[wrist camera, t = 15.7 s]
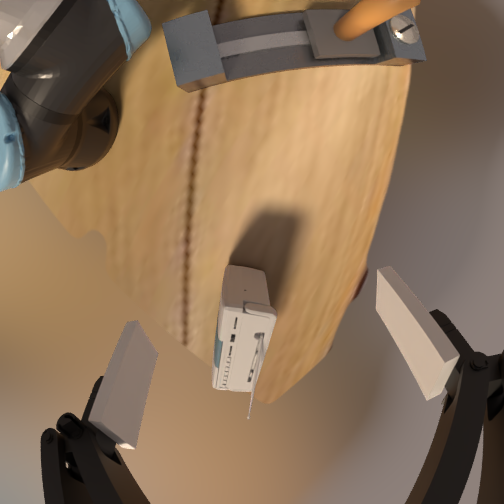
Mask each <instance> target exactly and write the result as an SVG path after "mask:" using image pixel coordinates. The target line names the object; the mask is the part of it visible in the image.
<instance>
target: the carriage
mask: <svg viewBox="0 0 504 504" xmlns="http://www.w3.org/2000/svg"><path fill="white" fill-rule="evenodd" d="M420 1H421V0H362V1H360V2H359V3H358V4H357V5H356V6H354V7H353V8H352V9H351V10H341V9H311V10H305V11H304V13H303V14H302V17H303V20H304V23H305V26H306V29H307V32H308V36H309V39H310V42H311V46H312V49H313V53H314V57H315V59H322V58H342V57H376V56H379V55H381V54H380V51H379V47H378V43H377V40H376V37H375V34H374V30H373V28H374V27H376V26H378V25H379V24H381V23H383V22H385V21H387V20H389V19H391V18H392V17H394V16H396V15H398V14H400V13H402V12H404V11H406V10H408V9H410V8H412V7H415V6H417V5H419V3H420Z"/></svg>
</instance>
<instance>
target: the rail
mask: <svg viewBox="0 0 504 504" xmlns="http://www.w3.org/2000/svg"><path fill="white" fill-rule="evenodd" d="M303 13H304V12H303ZM303 13H289V14H278V15H269V16H262V17H255V18H249V19H243V20H237V21H232V22H227V23H223V24H218V25H214V26H212V24H211V21H210V17H209V14H208V11H207V10H205V11H201V12H197V13H193V14H190V15H187V16H183V17H180V18H177V19H174V20H171V21H168V22H165V23H162V26H163V31H164V35H165V39H166V43H167V47H168V52H169V56H170V60H171V64H172V68H173V72H174V76H175V80H176V84H177V86H178V87H180V88H181V89H183V90H185V91H187V92H188V93H189V92H193V91H196V90H199V89H203V88H206V87H210V86H214V85H218V84H222V83H226V82H230V81H234V80H239V79H243V78H248V77H253V76H258V75H264V74H269V73H276V72H282V71H289V70H297V69H306V68H316V67H328V66H348V65H386V66H404V65H408V64H413V63H418V62H423V61H427V60H426V56H425V52H424V48H423V45H422V41H421V38H420V35H419V31H418V28H417V25H416V22H415V20H414V17H413V14H412V11H411V9H408V10H406V11H404V12H402V13H400V14H398V15H396V16H394V17H392V18H391V19H389V20H387V21H385V22H383V23H381V24H379V25H378V26H376V27H374V28H373V30H374V34H375V37H376V40H377V43H378V47H379V51H380V54H381V55H379V56H376V57H342V58H322V59H315V57H314V53H313V49H312V46H311V42H310V39H309V36H308V32H307V29H306V26H305V23H304V20H303V17H302V14H303Z"/></svg>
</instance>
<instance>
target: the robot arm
mask: <svg viewBox="0 0 504 504" xmlns="http://www.w3.org/2000/svg"><path fill="white" fill-rule="evenodd" d="M151 29H152V28H151V22H150V20H149V18H148V16H147V15H146V13H145V11H144V10H143V9H142V7H141V6H140V5H139V3H138V2H137V1H136V0H0V62H1V67H2V69H4V70H7V71H10V72H11V73H10V75H9V77H8V78H7V80H6V82H5V83H4V85H3V87H2V89H1V90H0V192H1V191H4V190H7V189H9V188H15V187H17V186H19V184H20V183H23V182H25V181H27V180H30V179H32V178H34V177H36V176H39V175H41V174H44V173H46V172H49V171H51V170H54V169H56V168H59V169H64V170H69V171H78V170H83V169H85V168H88V167H90V166H93V165H95V164H96V163H98V162H99V161H100V160H101V159H103V158H104V156H105V155H106V154H107V153H108V151H109V150H110V148H111V147H112V145H113V142H114V140H115V137H116V134H117V129H118V112H117V107H116V104H115V102H114V100H113V98H112V96H111V95H110V94H109V93H108V92H107V91H106V90H105V89H103V88H102V86H103V85H104V84H105V83H106V82H107V81H108V79H109V78H110V77H111V76H112V75H113V74H114V73H115V72H116V71H117V70H118V68H119V67H120V66H121V65H122V64H123V63H124V62H125V61H129V60H130V59H131V57H132V54H133V53H134V52H135V51H136V50H137V49H138V48H139V47H140V46H141V45H142V44H143V43H144V42H145V41H146V40H147V39H148V37H149V36H150V34H151ZM377 271H378V272H377V297H376V310H377V312H378V314H379V315H380V317H381V319H382V320H383V322H384V323H385V325H386V327H387V329H388V330H389V332H390V334H391V335H392V337H393V339H394V341H395V342H396V344H397V346H398V347H399V349H400V351H401V353H402V354H403V356H404V358H405V360H406V362H407V364H408V365H409V367H410V369H411V371H412V373H413V375H414V377H415V378H416V380H417V382H418V384H419V386H420V388H421V390H422V392H423V394H424V396H425V398H426V400H429V399H431V398H433V397H435V396H437V395H439V394H441V392H442V390H443V389H444V387H445V388H446V390H447V394H446V396H445V398H444V399H443V401H442V403H441V404H444V406H443V410H442V413H441V417H440V420H439V423H438V426H437V430H436V433H435V436H434V439H433V441H432V444H431V447H430V450H429V452H428V455H427V457H426V460H425V463H424V465H423V467H422V469H421V472H420V474H419V476H418V478H417V481H416V483H415V485H414V487H413V489H412V491H411V493H410V495H409V497H408V499H407V501H406V503H405V504H458V503H459V500H460V498H461V495H462V493H463V490H464V488H465V485H466V482H467V480H468V477H469V474H470V471H471V468H472V464H473V462H474V458H475V454H476V451H477V447H478V443H479V439H480V435H481V431H482V426H483V431H484V434H483V460H482V471H481V480H480V487H479V494H478V500H477V504H504V350H503V352H502V354H498V355H493V356H486V355H485V354H483V353H481V352H474V351H473V349H472V348H471V347H470V346H469V344H468V343H467V341H466V340H465V339H464V337H463V336H462V335H461V333H460V332H459V331H458V330H457V329H456V327H455V326H454V324H452V323H451V321H450V319H449V318H448V317H447V316H446V315H445V314H444V313H442V312H441V311H439V310H437V309H436V310H434V311H431V312H428V311H427V310H426V308H425V307H424V306H423V304H422V303H421V302H420V301H419V299H418V298H417V297H416V296H415V295H414V293H413V292H412V291H411V290H410V289H409V287H408V286H407V285H406V284H405V283H404V281H403V280H402V279H401V278H400V277H399V276H398V274H397V273H396V272H395V271H394V270H393V269H392V267H391V266H387V267H384V268H380V269H378V270H377ZM157 356H158V352H157V351H156V350H155V348H154V346H153V344H152V343H151V341H150V340H149V338H148V336H147V335H146V333H145V332H144V330H143V328H142V327H141V325H140V323H139V322H138V320H137V321H131V322H127V323H126V325H125V328H124V330H123V332H122V334H121V337H120V339H119V341H118V343H117V346H116V348H115V350H114V353H113V355H112V358H111V360H110V362H109V365H108V368H107V370H106V373H105V375H104V376H100V378H99V379H98V380H97V381H96V383H95V384H94V387H93V390H92V393H91V395H90V397H89V398H90V399H89V400H88V403H87V405H86V408H85V411H84V414H83V417H82V420H79V419H78V418H77V417H76V416H75V415H74V414H72V413H65V414H63V415H62V416H61V417H60V418H59V419H58V421H57V425H56V429H57V430H58V431H59V432H60V433H58V432H57V431H56V430H55V429H53V428H48V429H46V430H45V431H44V432H43V434H42V436H41V467H42V481H43V489H44V498H45V504H150V502H149V501H148V499H147V498H146V496H145V495H144V493H143V492H142V490H141V489H140V487H139V486H138V484H137V482H136V481H135V479H134V478H133V476H132V474H131V473H130V471H129V469H128V468H127V466H126V464H125V462H124V461H123V459H122V457H121V455H120V453H119V451H118V450H117V449H116V448H115V445H116V443H117V444H118V445H120V446H121V447H123V448H128V449H136V445H137V440H138V435H139V430H140V426H141V421H142V416H143V412H144V408H145V404H146V399H147V395H148V391H149V387H150V383H151V379H152V375H153V371H154V368H155V364H156V360H157ZM66 463H67V464H68V468H67V467H66Z"/></svg>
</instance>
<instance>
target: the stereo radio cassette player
mask: <svg viewBox="0 0 504 504" xmlns="http://www.w3.org/2000/svg"><path fill="white" fill-rule="evenodd" d="M276 319H277V312H276V310H275V309H274V308H273V307H270V300H269V294H268V288H267V282H266V276H265V272H264V271H261V270H257V269H253V268H249V267H243V266H236V265H227V267H226V268H225V272H224V278H223V284H222V292H221V299H220V305H219V312H218V320H217V328H216V336H215V344H214V352H213V363H212V385H213V387H214V388H216V389H219V390H227V389H228V390H231V391H244V392H250V391H252V394H251V401H250V408H249V415H250V410H251V406H252V401H253V396H254V390H255V385H256V382H257V379H258V376H259V373H260V370H261V367H262V364H263V360H264V357H265V354H266V351H267V348H268V345H269V341H270V338H271V335H272V332H273V328H274V325H275V322H276ZM247 419H250V416H248V417H247Z"/></svg>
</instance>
